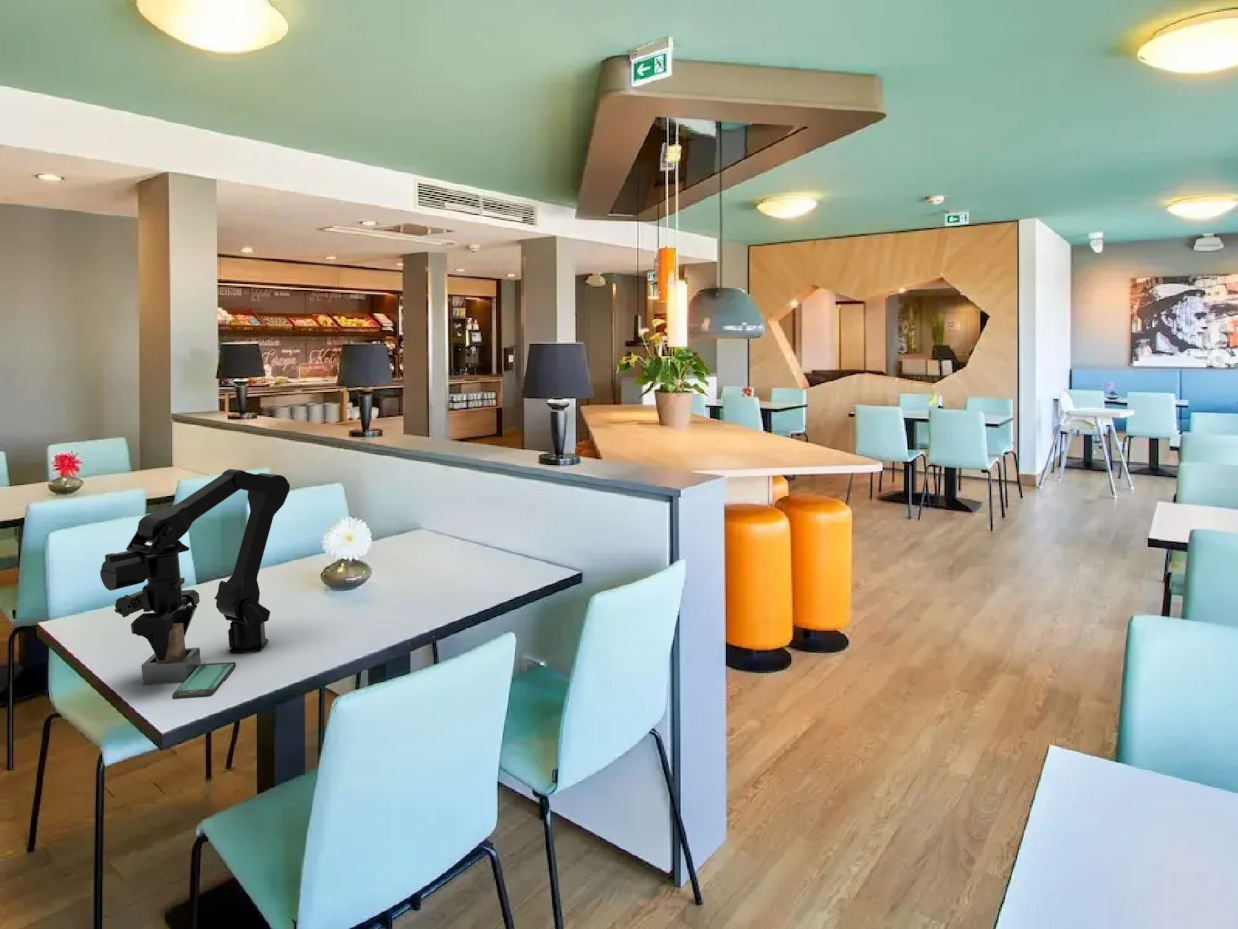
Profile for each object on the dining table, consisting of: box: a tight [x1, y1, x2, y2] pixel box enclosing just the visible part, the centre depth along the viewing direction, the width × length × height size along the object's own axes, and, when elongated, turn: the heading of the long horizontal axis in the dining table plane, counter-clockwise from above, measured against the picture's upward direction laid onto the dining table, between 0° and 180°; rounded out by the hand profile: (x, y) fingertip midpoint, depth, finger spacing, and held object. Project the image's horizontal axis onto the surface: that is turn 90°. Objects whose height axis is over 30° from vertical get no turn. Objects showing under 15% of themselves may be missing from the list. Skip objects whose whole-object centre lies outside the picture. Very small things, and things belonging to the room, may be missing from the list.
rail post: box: [156, 623, 186, 663], centre depth 157 cm, size 4×4×10 cm
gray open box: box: [140, 647, 202, 686], centre depth 157 cm, size 8×8×4 cm
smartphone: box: [171, 661, 237, 700], centre depth 155 cm, size 7×1×15 cm
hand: (170, 651), depth 157 cm, fingers open, 9 cm apart
